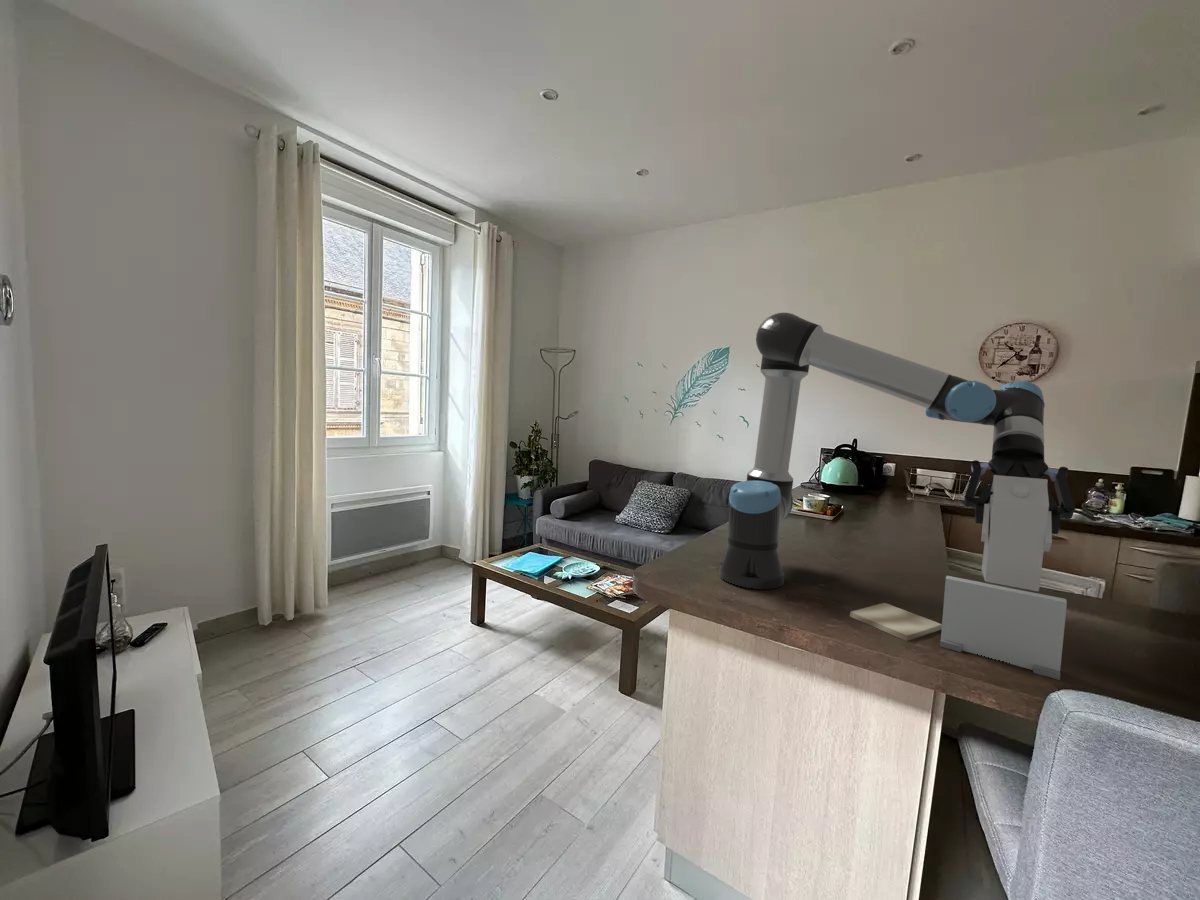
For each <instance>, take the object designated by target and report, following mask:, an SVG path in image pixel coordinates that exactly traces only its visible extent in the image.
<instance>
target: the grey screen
mask: <svg viewBox="0 0 1200 900" xmlns="http://www.w3.org/2000/svg"><path fill="white" fill-rule="evenodd" d="M1067 605H1068V602H1067V599H1066V598H1063V597H1057V596H1052V595H1047V594H1042V593H1036V592H1032V591H1026V590H1024V589H1023V590H1022V589H1019V588H1017V589H1016V588H1014V587H1009V586H1004V585H1002V586H1001V585H998V584H993V583H988V582H982V581H978V580H977V581H976V580H972V579H966V578H962V577H955V576H951V575H946V576H945V583H944V596H943V607H942V608H943V609H942V621H941V624H942V630H940V631H941V634H940V635H941V636H940V641H939V647H942V648H944V649H948V650H952V651H955V652H959V653H962V652H966V653H970V654H973V655H977V654H978V656H981V655H982V656H981V657H984V656H985V657H984V658H988V657H989V659H991V658H992V660H995V659H996V660H995V661H998V660H1000V662H1002V661H1004V662H1003V663H1006V662H1007V664H1009V663H1010V664H1009V665H1013V666H1017V667H1020V668H1023V669H1024V668H1025V669H1028V670H1031V671H1032V673H1033V674H1037V675H1040V676H1044V677H1048V678H1050V677H1051V679H1054V680H1058V681H1060V680H1061V666H1062V665H1061V664H1062V654H1063V645H1064V635H1065V626H1066V614H1067V607H1068V606H1067Z"/></svg>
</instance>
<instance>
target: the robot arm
mask: <svg viewBox="0 0 1200 900" xmlns="http://www.w3.org/2000/svg"><path fill="white" fill-rule="evenodd" d="M755 344H756V347H757V349H758V351H759V353H760V354H761V362H760V363H761V364H760V373H761V374H762V375H763V377H764V378H765V381H764V389H763V396H762V405H761V413H760V419H759V425H758V426H759V427H758V434H757V436H758V437H757V443H756V450H755V458H754V466H753V468H752V469H751V470H749V471H748V472H747V473H746V474H747V475H746V480H745V481H739V482H735V483H733V484H732V486H731V488H730V490H729V495H728V526H727V527H728V530H727V531H728V533H727V537H728V538H727V547H726V549H725V552H724V555H723V558H722V561H721V562H720V564H719V571H718V572H719V573H718V575H720V576H719V577H720V578H721V580H723V579H724V580H725V582H726V581H727V582H726V583H728V582H729V583H728V584H730V583H732V584H731V585H733V584H735V585H734V586H736V585H738V587H740V586H742V587H741V588H745V587H746V588H745V589H751V588H753V589H754V590H774V589H778V588H780V587H782V586H784V585H785V571H784V569H783V568H782V563H781V558H780V554H779V530H780V523H782V522H783V521H785V519H787V518H788V516H789V515H790V513H791V512H792V509H793V505H794V497H793V487H794V478H793V477H792V475H791V474H790V473H789V467H790V460H791V454H792V447H793V440H794V439H793V438H794V433H795V432H794V431H795V424H796V417H797V412H798V411H797V409H798V402H799V396H800V389H801V381H802V379H804V378H806V376H808V375H809V369H810V366H811V367H814V368H817V369H820V370H823V371H825V372H828V373H830V374H834V375H836V376H839V377H841V378H845V379H847V380H849V381H853V382H855V383H858V384H860V385H863V386H866V387H869V388H872V389H874V390H876V391H880V392H882V393H885V394H887V395H890V396H893V397H896V398H898V399H901V400H903V401H906V402H909V403H912V404H915V405H917V406H920V407H922V408H925V411H924V412H925V416H926V417H928V418H932V419H937V420H941V421H952V422H960V423H969V424H976V425H977V424H980V425H985V426H993V434H992V436H993V437H992V448H991V449H992V452H991V459H990V460H989V461H988V462H980V461H979V460H977V459H976V460H974V459H973V461H971V467H970V472H971V475H970V478H969V483H968V485H967V488H966V490H965V494H964V499H963V500H964V501H963V506H965V507H968V508H969V507H971V508H974V512H975V513H974V522H975V524H981V525H982V526H981V540H980V542H981V543H982V542H984V543H985V542H987V537H988V526H989V510H990V504H989V499H990V495H992V494H993V492H991V487H992V483H993V479H991V481H990V482H989V484H988V485H987V486H986V488H984V490H983V491H982V493H981V494H980V495H979V496H978V498H977V497H975V496H976V493H977V490H978V487H979V483H980V481H981V477H982V476H983V475H984V474H985V473H986V471H988V470H989V471H990V472H991V473H992V474H993V476H994V475H1000V476H1012V477H1024V478H1037V479H1042V477H1044V476H1045V475H1048V476H1049V478H1050V480H1051V481H1052V482H1054V483H1053V484H1054V488H1055V494H1056V497H1057V500H1058V503H1057V502H1056V501H1055V499H1054V497H1053V496H1052V495H1051V493H1050V492H1049V491H1048V499H1049V510H1048V518H1047V527H1046V535H1045V543H1044V552H1048V553H1049V552H1050V550H1051V548H1052V544H1053V535H1058V534H1059V533H1060V530H1061V519H1066V520H1071V519H1072V518H1073V517H1074V513H1075V511H1076V506H1075V503H1074V499H1073V496H1072V493H1071V488H1070V485H1069V483H1068V478H1067V475H1068V472H1069V467H1066V466H1060V467H1059V468H1055V467H1050V466H1049V465H1048V464H1047V463H1046V462H1045V429H1044V428H1045V427H1044V420H1045V419H1044V417H1045V410H1044V409H1045V404H1046V403H1045V399H1044V395H1043V391H1042V389H1041V388H1040V387H1039V386H1038V385H1036V384H1035V383H1032V382H1030V381H1023V380H1017V381H1014V382H1008V383H1005V384H1003V385H1001V386H1000V387H999V388H998V389H993V388H992V387H991V386H989V385H988V384H986V383H983V382H981V381H977V380H968V379H965V378H962V377H958V376H956V375H952V374H949V373H947V372H944V371H941V370H938V369H936V368H932V367H930V366H927V365H924V364H920V363H917V362H915V361H911V360H908V359H905V358H903V357H899V356H897V355H894V354H891V353H887V352H885V351H882V350H879V349H876V348H872V347H870V346H867V345H865V344H861V343H858V342H855V341H851V340H850V339H846V338H843V337H842V336H841V337H840V336H837V335H834V334H831V333H828V332H825V331H824V329H823V326H822V325H821V324H820V325H819V324H817V323H815V322H811V321H808V319H807V320H806V319H804V318H802V317H800V316H798V315H796V314H794V313H790V312H777V313H774V314H772V315H770V316H769V317H767V318H766V319H765V320H763V321H762V323H761V324H760V325H759V327H758V329H757V332H756V337H755ZM1058 504H1059V505H1058ZM1052 534H1053V535H1052ZM724 580H723V581H724Z"/></svg>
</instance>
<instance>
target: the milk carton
mask: <svg viewBox="0 0 1200 900" xmlns="http://www.w3.org/2000/svg"><path fill="white" fill-rule="evenodd" d="M992 480H993V483H992V487H991V492H993V494H992V495H990V499H989V503H988V504H990V510H989V526H988V537H987V542H984V545H983V554H982V562H981V563H982V565H981V573H982V576H983V579H984V582H985V583H989V584H994V585H1000V586H1001V585H1002V586H1005V587H1010V588H1017V589H1021V590H1022V589H1023V590H1029V591H1034V592H1039V591H1040V586H1041V576H1042V567H1043V558H1044V553H1045V551H1044V543H1045V535H1046V527H1047V518H1048V510H1049V499H1048V492H1049V489H1048V479H1047V478H1045V479H1044V478H1041V479H1037V478H1024V477H1012V476H1000V475H994V474H993V479H992Z"/></svg>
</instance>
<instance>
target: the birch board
mask: <svg viewBox="0 0 1200 900" xmlns="http://www.w3.org/2000/svg"><path fill="white" fill-rule="evenodd" d="M849 612H850V613H849V617H850V618H853V619H854V620H857V621H858V622H859V621H860V622H862V623H864V624H866V625H869V626H871V627H873V628H876V629H878V630H880V631H883V632H885V633H887V634H889V635H891V636H895V637H897V638H899V639H901V640H904V641H905V642H908V641H912V640H914V639H917V638H920V637H923V636H926V635H930V634H931V633H935V632H938V631H942V623H939V622H937V621H934V620H932V619H929V618H927V617H924V616H920V615H918V614H916V613H913V612H910V611H907V610H905V609H903V608H900V607H897V606H894V605H892V604H890V603H886V602H882V603H878V604H874V605H871V606H866V607H864V608H859V609H856V610H851V611H849Z"/></svg>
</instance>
